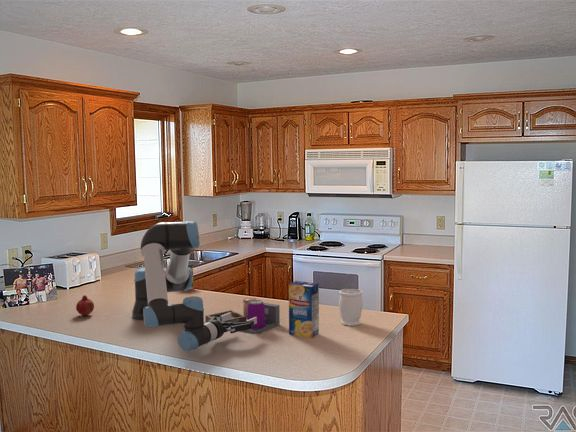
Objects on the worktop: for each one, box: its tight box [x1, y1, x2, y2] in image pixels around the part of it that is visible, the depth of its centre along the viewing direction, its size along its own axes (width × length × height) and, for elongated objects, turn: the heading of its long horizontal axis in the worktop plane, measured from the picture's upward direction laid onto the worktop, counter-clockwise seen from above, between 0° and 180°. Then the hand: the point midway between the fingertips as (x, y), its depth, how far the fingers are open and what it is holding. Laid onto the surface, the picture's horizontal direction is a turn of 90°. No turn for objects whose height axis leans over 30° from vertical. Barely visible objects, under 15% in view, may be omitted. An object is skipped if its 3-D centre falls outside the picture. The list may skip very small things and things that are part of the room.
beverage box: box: [288, 280, 320, 339], centre depth 229 cm, size 7×11×22 cm, turn 61°
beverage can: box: [247, 299, 266, 331], centre depth 238 cm, size 8×8×12 cm
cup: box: [242, 297, 257, 319], centre depth 257 cm, size 6×6×8 cm
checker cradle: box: [242, 302, 281, 335], centre depth 240 cm, size 12×16×9 cm
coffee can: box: [188, 262, 194, 290], centre depth 316 cm, size 10×10×14 cm
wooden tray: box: [204, 309, 247, 327], centre depth 248 cm, size 13×14×3 cm
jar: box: [338, 288, 364, 327], centre depth 244 cm, size 11×10×15 cm
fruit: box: [75, 295, 95, 317], centre depth 260 cm, size 8×8×10 cm
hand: (243, 317), depth 230 cm, fingers open, 13 cm apart
